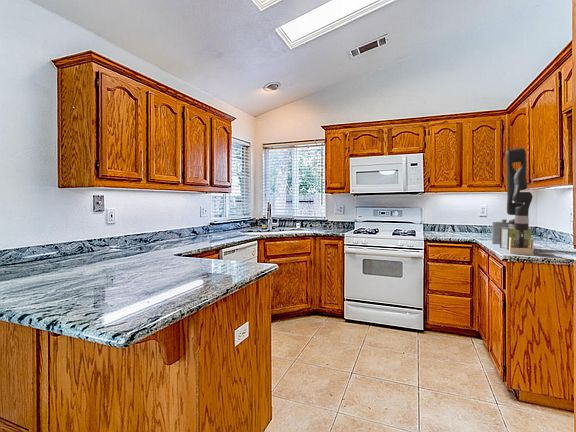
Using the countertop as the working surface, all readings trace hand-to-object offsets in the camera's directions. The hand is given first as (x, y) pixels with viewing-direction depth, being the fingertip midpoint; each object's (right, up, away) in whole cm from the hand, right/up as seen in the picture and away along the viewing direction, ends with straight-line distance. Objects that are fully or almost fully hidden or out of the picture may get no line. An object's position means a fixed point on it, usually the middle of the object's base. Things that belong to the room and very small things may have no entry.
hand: (520, 248), depth 215 cm
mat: (+11, -4, -7) cm, 13 cm away
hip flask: (+19, -2, +46) cm, 50 cm away
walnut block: (0, -3, 0) cm, 3 cm away
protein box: (+9, -3, +18) cm, 20 cm away
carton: (0, -3, 0) cm, 3 cm away
